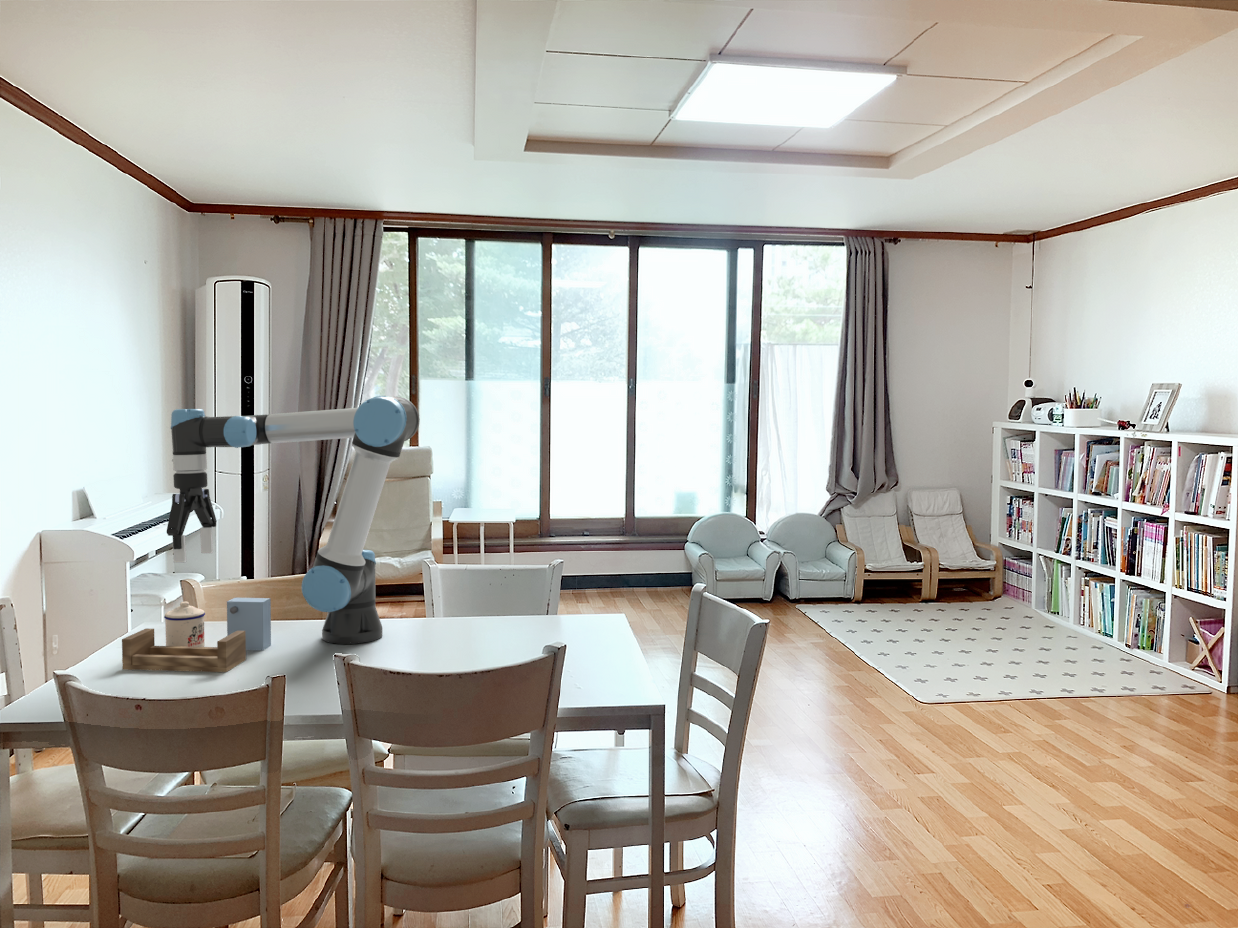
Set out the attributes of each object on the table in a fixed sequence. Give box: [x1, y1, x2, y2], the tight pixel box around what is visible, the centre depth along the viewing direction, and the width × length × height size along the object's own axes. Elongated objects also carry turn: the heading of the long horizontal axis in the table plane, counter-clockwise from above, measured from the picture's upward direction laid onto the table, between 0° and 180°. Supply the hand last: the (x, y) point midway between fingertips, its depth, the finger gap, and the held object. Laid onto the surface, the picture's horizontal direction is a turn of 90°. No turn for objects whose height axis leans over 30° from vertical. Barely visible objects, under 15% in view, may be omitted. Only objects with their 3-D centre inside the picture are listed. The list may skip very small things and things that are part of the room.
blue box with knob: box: [226, 597, 272, 651], centre depth 231 cm, size 9×6×12 cm, turn 88°
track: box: [121, 628, 247, 673], centre depth 216 cm, size 24×10×7 cm, turn 88°
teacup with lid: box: [163, 601, 206, 647], centre depth 231 cm, size 12×9×12 cm
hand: (194, 557), depth 230 cm, fingers open, 13 cm apart
